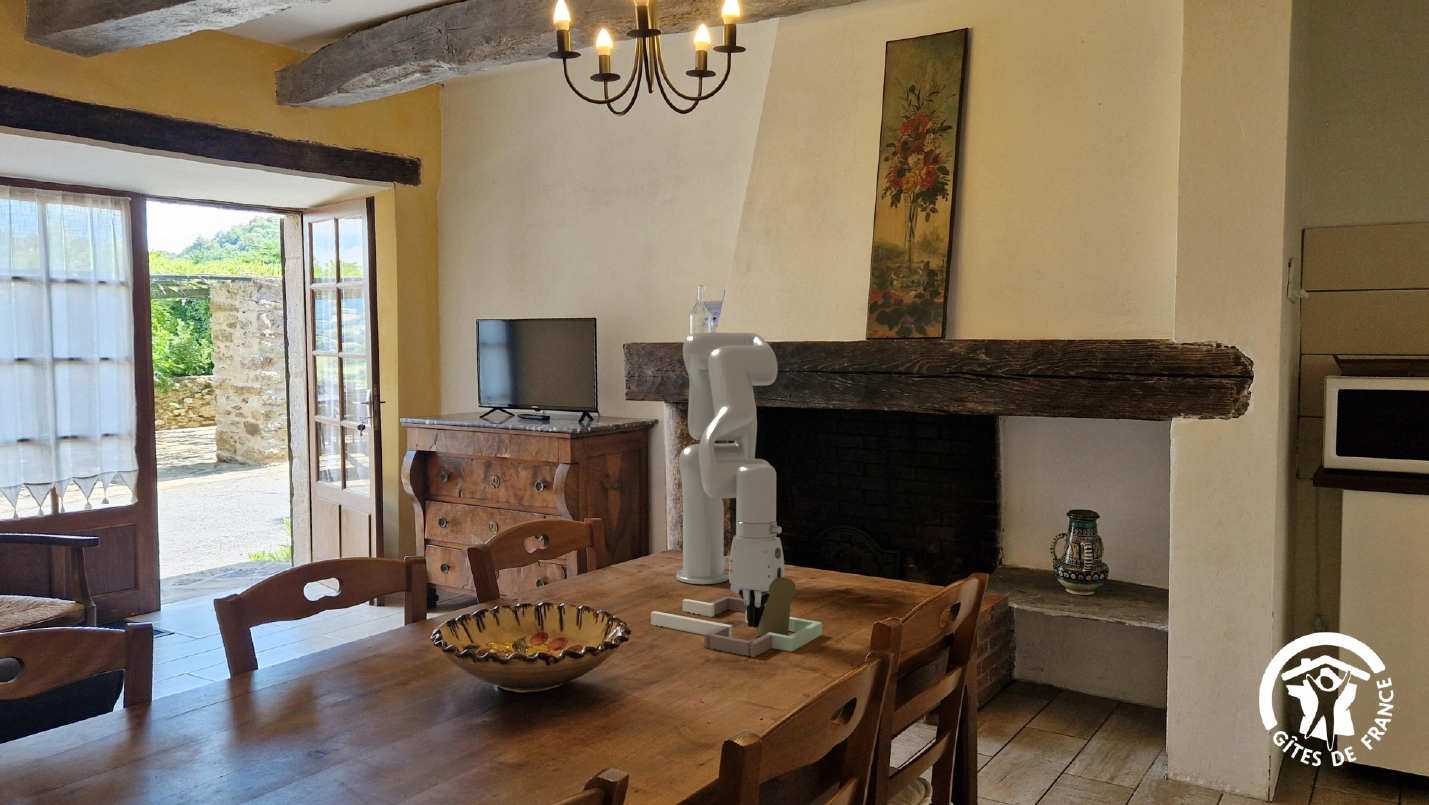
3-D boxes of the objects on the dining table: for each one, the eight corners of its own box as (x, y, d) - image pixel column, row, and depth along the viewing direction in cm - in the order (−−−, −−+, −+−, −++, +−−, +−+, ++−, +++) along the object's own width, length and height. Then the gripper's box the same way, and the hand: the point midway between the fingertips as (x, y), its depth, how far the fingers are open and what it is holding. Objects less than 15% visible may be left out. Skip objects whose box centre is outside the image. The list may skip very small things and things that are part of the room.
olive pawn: (789, 631, 188) (801, 578, 186) (786, 644, 182) (798, 589, 180) (758, 623, 189) (770, 570, 187) (754, 636, 183) (765, 581, 181)
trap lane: (703, 603, 209) (703, 592, 209) (836, 626, 193) (836, 614, 193) (630, 632, 188) (630, 620, 188) (773, 661, 172) (773, 648, 171)
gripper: (800, 531, 185) (799, 627, 187) (733, 523, 194) (732, 615, 195) (780, 537, 179) (780, 637, 180) (712, 529, 187) (711, 624, 188)
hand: (755, 625), depth 187 cm, fingers closed
